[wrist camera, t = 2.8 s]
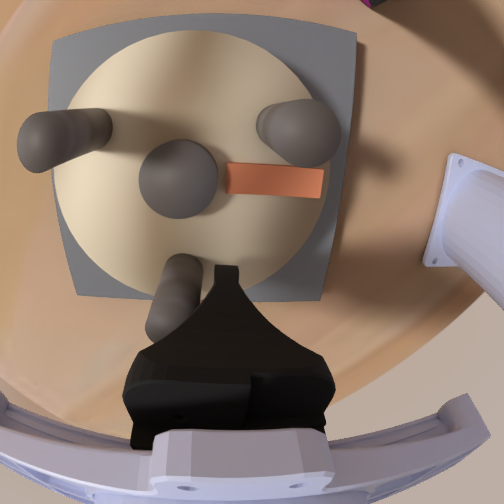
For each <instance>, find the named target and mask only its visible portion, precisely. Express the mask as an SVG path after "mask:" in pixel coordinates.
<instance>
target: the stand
mask: <svg viewBox="0 0 504 504" xmlns="http://www.w3.org/2000/svg"><path fill="white" fill-rule="evenodd" d="M184 30H202V31H213V32H218V33H224V34H229V35H232V36H235V37H238V38H241V39H244V40H247V41H249V42H251V43H253V44H255V45H257V46H259V47H261V48H263V49H265V50H266V51H268V52H269V53H271V54H272V55H273V56H275V57H276V58H278V59H279V60H280V61H282V62H283V63H284V64H285V65H286V66H287V67H288V68H289V69H290V70H291V71H292V72H293V73H294V74H295V75H296V76H297V77H298V78H299V80H300V81H301V82H302V84H303V85H304V86H305V88H306V89H307V90H308V92H309V93H310V95H311V97H312V99H313V100H317V101H319V102H321V103H323V104H325V105H326V106H328V107H329V108H330V109H331V110H332V111H333V112H334V114H335V115H336V117H337V119H338V121H339V124H340V128H341V140H340V144H339V147H338V149H337V151H336V153H335V154H334V156H333V157H332V158H331V159H330V174H329V185H328V189H327V194H326V199H325V202H324V205H323V208H322V211H321V213H320V216H319V219H318V221H317V223H316V224H315V226H314V228H313V230H312V232H311V234H310V235H309V237H308V238H307V240H306V241H305V243H304V244H303V246H302V247H301V248H300V249H299V250H298V252H297V253H296V254H295V255H294V256H293V257H292V258H291V259H290V260H289V261H288V262H287V263H286V264H285V265H284V266H283V267H281V268H280V269H279V270H278V271H277V272H275V273H274V274H272V275H271V276H269V277H268V278H267V279H265V280H264V281H262V282H260V283H258V284H256V285H254V286H252V287H250V288H248V289H246V290H243V291H244V292H245V294H246V295H247V297H248V298H249V299H250V301H251V302H289V301H320V299H321V295H322V291H323V286H324V282H325V277H326V273H327V268H328V264H329V259H330V254H331V249H332V244H333V239H334V234H335V229H336V223H337V218H338V212H339V206H340V200H341V194H342V188H343V181H344V174H345V167H346V160H347V152H348V144H349V136H350V127H351V117H352V107H353V95H354V82H355V66H356V41H357V33H355V32H351V31H347V30H343V29H339V28H335V27H331V26H327V25H322V24H317V23H312V22H306V21H301V20H294V19H287V18H280V17H271V16H261V15H248V14H220V13H211V14H183V15H170V16H160V17H152V18H144V19H138V20H132V21H126V22H121V23H116V24H111V25H106V26H102V27H98V28H94V29H90V30H86V31H83V32H79V33H76V34H72V35H69V36H66V37H63V38H60V39H57V40H54V41H53V45H52V53H51V62H50V74H49V92H48V111H56V110H67V109H68V107H69V105H70V103H71V101H72V99H73V97H74V96H75V94H76V93H77V92H78V90H79V89H80V87H81V86H82V84H83V83H84V82H85V81H86V80H87V79H88V77H89V76H90V75H91V74H92V73H93V72H94V71H95V70H96V69H97V68H98V67H99V66H100V65H102V64H103V63H104V62H105V61H106V60H108V59H109V58H110V57H111V56H113V55H114V54H116V53H118V52H119V51H121V50H123V49H124V48H126V47H128V46H130V45H132V44H134V43H136V42H139V41H141V40H143V39H146V38H149V37H152V36H156V35H159V34H163V33H167V32H175V31H184ZM51 174H52V182H53V190H54V197H55V203H56V209H57V215H58V221H59V226H60V231H61V236H62V240H63V245H64V249H65V253H66V257H67V261H68V265H69V269H70V272H71V276H72V279H73V283H74V286H75V289H76V293H77V295H81V296H94V297H108V298H125V299H143V300H153V299H154V296H153V295H150V294H146V293H143V292H140V291H138V290H136V289H134V288H131V287H129V286H127V285H125V284H123V283H122V282H120V281H118V280H117V279H115V278H113V277H112V276H110V275H109V274H108V273H106V272H105V271H104V270H103V269H101V268H100V267H99V266H98V265H97V264H96V263H95V262H94V261H93V260H92V259H91V258H90V257H89V256H88V255H87V254H86V253H85V252H84V250H83V249H82V248H81V247H80V245H79V244H78V243H77V241H76V239H75V238H74V236H73V235H72V233H71V231H70V230H69V228H68V225H67V223H66V221H65V219H64V217H63V214H62V211H61V208H60V205H59V202H58V198H57V193H56V188H55V180H54V167H53V168H51ZM201 301H203V300H200V304H201Z"/></svg>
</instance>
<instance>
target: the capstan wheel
mask: <svg viewBox="0 0 504 504" xmlns="http://www.w3.org/2000/svg"><path fill="white" fill-rule="evenodd" d="M340 140H341V128H340V124H339V121H338V119H337V117H336V115H335V114H334V112H333V111H332V110H331V109H330V108H329V107H328V106H326V105H325V104H323V103H321V102H319V101H317V100H313V99H312V97H311V95H310V93H309V92H308V90H307V89H306V88H305V86H304V85H303V84H302V82H301V81H300V80H299V78H298V77H297V76H296V75H295V74H294V73H293V72H292V71H291V70H290V69H289V68H288V67H287V66H286V65H285V64H284V63H283V62H282V61H280V60H279V59H278V58H276V57H275V56H273V55H272V54H271V53H269V52H268V51H266V50H265V49H263V48H261V47H259V46H257V45H255V44H253V43H251V42H249V41H247V40H244V39H241V38H238V37H235V36H232V35H229V34H224V33H218V32H213V31H202V30H184V31H175V32H167V33H163V34H159V35H156V36H152V37H149V38H146V39H143V40H141V41H139V42H136V43H134V44H132V45H130V46H128V47H126V48H124V49H123V50H121V51H119V52H118V53H116V54H114V55H113V56H111V57H110V58H109V59H108V60H106V61H105V62H104V63H103V64H102V65H100V66H99V67H98V68H97V69H96V70H95V71H94V72H93V73H92V74H91V75H90V76H89V77H88V79H87V80H86V81H85V82H84V83H83V84H82V86H81V87H80V89H79V90H78V92H77V93H76V94H75V96H74V97H73V99H72V101H71V103H70V105H69V107H68V109H67V110H56V111H46V112H38V113H35V114H32V115H31V116H29V117H28V118H27V119H26V120H25V121H24V123H23V124H22V126H21V128H20V131H19V134H18V138H17V152H18V156H19V159H20V161H21V163H22V164H23V166H24V167H25V168H26V169H27V170H29V171H30V172H33V173H42V172H45V171H47V170H49V169H51V168H53V167H54V180H55V188H56V193H57V198H58V202H59V205H60V208H61V211H62V214H63V217H64V219H65V221H66V223H67V225H68V228H69V230H70V231H71V233H72V235H73V236H74V238H75V239H76V241H77V243H78V244H79V245H80V247H81V248H82V249H83V250H84V252H85V253H86V254H87V255H88V256H89V257H90V258H91V259H92V260H93V261H94V262H95V263H96V264H97V265H98V266H99V267H100V268H101V269H103V270H104V271H105V272H106V273H108V274H109V275H110V276H112V277H113V278H115V279H117V280H118V281H120V282H122V283H123V284H125V285H127V286H129V287H131V288H134V289H136V290H138V291H140V292H143V293H146V294H150V295H153V296H154V299H153V302H152V305H151V308H150V311H149V315H148V318H147V321H146V325H145V331H146V334H147V336H148V337H149V339H150V340H151V341H152V342H153V343H156V342H158V341H160V340H161V339H162V338H164V337H165V336H167V335H168V334H169V333H171V332H172V331H173V330H175V329H176V328H177V327H178V326H179V325H181V324H182V323H183V322H184V321H185V320H186V319H187V318H188V317H189V316H190V315H191V314H192V313H193V312H194V311H195V310H196V308H197V307H198V306H199V305H200V300H203V299H204V298H205V297H206V295H207V294H208V292H209V291H210V289H211V288H212V286H213V284H214V267H215V264H216V265H234V266H238V268H239V284H240V286H241V287H242V289H243V290H246V289H248V288H250V287H252V286H254V285H256V284H258V283H260V282H262V281H264V280H265V279H267V278H268V277H269V276H271V275H272V274H274V273H275V272H277V271H278V270H279V269H280V268H281V267H283V266H284V265H285V264H286V263H287V262H288V261H289V260H290V259H291V258H292V257H293V256H294V255H295V254H296V253H297V252H298V250H299V249H300V248H301V247H302V246H303V244H304V243H305V241H306V240H307V238H308V237H309V235H310V234H311V232H312V230H313V228H314V226H315V224H316V223H317V221H318V219H319V216H320V213H321V211H322V208H323V205H324V202H325V199H326V194H327V189H328V185H329V174H330V159H331V158H332V157H333V156H334V154H335V153H336V151H337V149H338V147H339V144H340Z"/></svg>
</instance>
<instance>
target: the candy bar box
mask: <svg viewBox="0 0 504 504" xmlns="http://www.w3.org/2000/svg"><path fill="white" fill-rule="evenodd" d="M361 1H362V2H364V3H365V4H366V5H367V6H368V7H370V8H372V7H374V6H377V5H379V4H381V3H383V2H385V1H387V0H361Z"/></svg>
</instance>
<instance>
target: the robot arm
mask: <svg viewBox="0 0 504 504" xmlns="http://www.w3.org/2000/svg"><path fill="white" fill-rule="evenodd" d="M459 160H460V163H459V164H458V162H459ZM433 259H434V260H433ZM422 263H423V264H424V265H425V266H426V267H457V266H459V267H460V268H461V269H462V270H463V271H464V272H465V273H467V274H468V275H469V276H470V277H471V278H472V279H473V280H474V281H475V282H476V283H477V284H478V285H479V286H480V287H481V288H482V289H483V290H484V291H485V292H486V293H487V294H488V295H489V296H490V297H491V298H492V299H493V300H494V301H495V302H496V303H497V304H498V305H499V306H500V307H501V308H502V309H503V310H504V172H503V171H501V170H498V169H496V168H494V167H491V166H489V165H486V164H484V163H481V162H479V161H476V160H473V159H471V158H468V157H465V156H462V155H459V154H456V153H451V154H450V155H449V156H448V160H447V166H446V171H445V177H444V181H443V186H442V191H441V195H440V199H439V204H438V208H437V212H436V215H435V219H434V223H433V226H432V230H431V233H430V237H429V240H428V243H427V247H426V250H425V253H424V256H423V259H422ZM335 391H336V389H335V383H334V380H333V377H332V374H331V372H330V370H329V368H328V366H327V364H326V362H325V360H324V358H323V357H322V356H321V355H319V354H317V353H315V352H313V351H311V350H309V349H307V348H305V347H303V346H301V345H300V344H298V343H297V342H295V341H294V340H292V339H290V338H289V337H288V336H286V335H285V334H283V333H282V332H281V331H280V330H278V329H277V328H276V327H275V326H273V325H272V324H271V323H270V322H269V321H268V320H267V319H266V318H265V317H264V316H263V315H262V314H261V313H260V312H259V311H258V309H257V308H256V307H255V306H254V305H253V303H252V302H251V301H250V299H249V298H248V297H247V295H246V294H245V292H244V291H243V289H242V287H241V286H240V284H239V268H238V266H234V265H216V264H215V267H214V284H213V286H212V288H211V289H210V291H209V292H208V294H207V295H206V297H205V298H204V299H203V301H202V302H201V304H200V305H199V306H198V307H197V308H196V310H195V311H194V312H193V313H192V314H191V315H190V316H189V317H188V318H187V319H186V320H185V321H184V322H183V323H182V324H181V325H179V326H178V327H177V328H176V329H175V330H173V331H172V332H171V333H169V334H168V335H167V336H165V337H164V338H162V339H161V340H160V341H158V342H156V343H154V344H153V345H151V346H149V347H147V348H145V349H143V350H141V351H139V352H138V354H137V356H136V358H135V360H134V362H133V364H132V366H131V368H130V370H129V373H128V375H127V378H126V382H125V386H124V390H123V394H122V397H123V402H124V404H125V406H126V408H127V411H128V413H129V415H130V417H131V419H132V421H133V428H132V433H131V439H125V438H120V437H115V436H110V435H106V434H101V433H97V432H93V431H89V430H85V429H82V428H78V427H75V426H71V425H68V424H64V423H61V422H59V421H55V420H52V419H50V418H47V417H44V416H41V415H39V414H36V413H33V412H31V411H28V410H26V409H23V408H21V407H18V406H16V405H14V404H12V403H10V402H9V401H8V399H7V398H6V397H5V395H4V394H3V393H2V392H1V391H0V463H1V464H2V465H4V466H6V467H7V468H9V469H11V470H13V471H14V472H16V473H18V474H20V475H22V476H24V477H25V478H28V479H29V480H31V481H33V482H35V483H37V484H39V485H41V486H44V487H46V488H48V489H50V490H52V491H54V492H57V493H59V494H61V495H64V496H66V497H69V498H71V499H74V500H77V501H79V502H82V503H85V504H370V503H373V502H376V501H379V500H381V499H384V498H387V497H389V496H392V495H394V494H397V493H399V492H401V491H404V490H406V489H408V488H410V487H412V486H415V485H417V484H419V483H421V482H423V481H425V480H427V479H429V478H431V477H433V476H435V475H437V474H439V473H441V472H443V471H445V470H447V469H448V468H450V467H452V466H454V465H455V464H457V463H458V462H460V461H461V460H462V459H464V458H465V457H466V456H468V455H469V454H470V453H471V452H473V451H474V450H475V449H477V448H478V447H479V446H480V445H482V444H483V443H484V442H485V441H486V440H487V439H489V438H490V436H491V434H490V432H489V430H488V429H487V427H486V425H485V423H484V421H483V419H482V417H481V416H480V414H479V412H478V410H477V409H476V407H475V405H474V403H473V402H472V400H471V398H470V396H469V395H468V394H467V393H466V394H463V395H461V396H458V397H456V398H453V399H451V400H449V401H448V402H446V403H445V404H444V405H443V406H442V407H441V408H440V409H439V410H438V412H437V413H435V414H432V415H430V416H427V417H424V418H421V419H418V420H415V421H412V422H409V423H405V424H402V425H399V426H395V427H392V428H388V429H384V430H380V431H376V432H373V433H368V434H364V435H360V436H355V437H350V438H344V439H339V440H333V441H327V437H326V434H325V430H324V426H325V425H326V420H325V416H324V412H325V410H326V408H327V407H328V405H329V403H330V402H331V400H332V398H333V396H334V393H335Z"/></svg>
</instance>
